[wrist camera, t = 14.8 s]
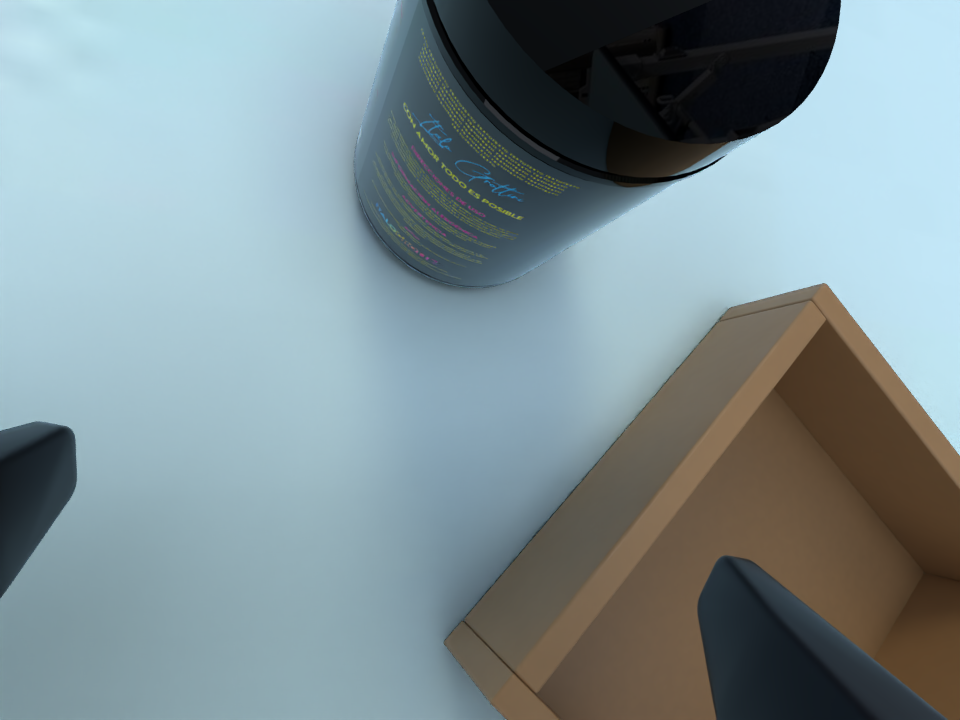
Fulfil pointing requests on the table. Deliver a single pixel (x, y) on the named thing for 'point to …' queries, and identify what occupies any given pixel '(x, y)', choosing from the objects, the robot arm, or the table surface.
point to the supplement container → (564, 117)
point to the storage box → (736, 527)
